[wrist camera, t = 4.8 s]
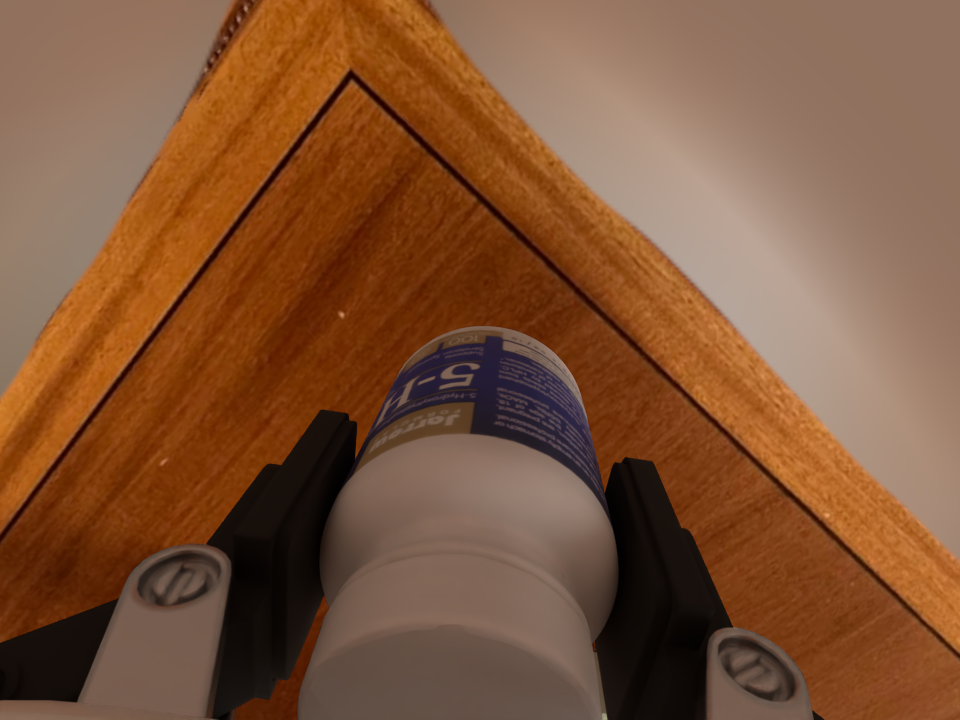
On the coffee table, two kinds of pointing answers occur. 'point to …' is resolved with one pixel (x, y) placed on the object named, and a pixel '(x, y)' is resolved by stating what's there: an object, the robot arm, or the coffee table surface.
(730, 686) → the robot arm
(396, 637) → the pill bottle
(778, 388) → the coffee table surface
